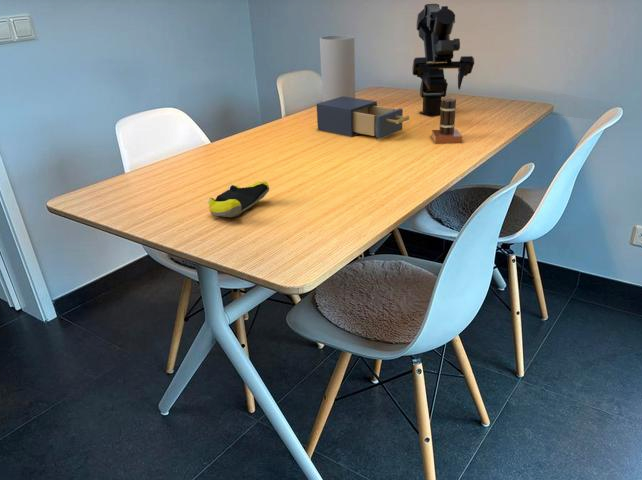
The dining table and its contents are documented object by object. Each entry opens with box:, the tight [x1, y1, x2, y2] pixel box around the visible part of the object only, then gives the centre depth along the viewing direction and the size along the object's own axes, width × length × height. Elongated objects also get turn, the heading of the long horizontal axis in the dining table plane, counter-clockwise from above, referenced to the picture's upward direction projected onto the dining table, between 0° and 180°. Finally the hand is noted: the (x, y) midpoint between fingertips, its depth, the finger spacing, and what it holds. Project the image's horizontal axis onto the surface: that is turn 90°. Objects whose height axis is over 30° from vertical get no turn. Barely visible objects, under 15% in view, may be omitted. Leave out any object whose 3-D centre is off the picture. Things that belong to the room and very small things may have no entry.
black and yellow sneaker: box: [206, 181, 270, 218], centre depth 125 cm, size 15×6×10 cm
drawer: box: [352, 105, 410, 140], centre depth 176 cm, size 18×12×7 cm
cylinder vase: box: [319, 34, 356, 102], centre depth 206 cm, size 12×12×25 cm
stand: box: [431, 128, 463, 144], centre depth 172 cm, size 8×8×2 cm
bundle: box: [438, 97, 457, 135], centre depth 169 cm, size 5×5×10 cm
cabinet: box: [316, 96, 378, 138], centre depth 184 cm, size 15×14×9 cm
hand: (444, 89), depth 173 cm, fingers open, 9 cm apart
